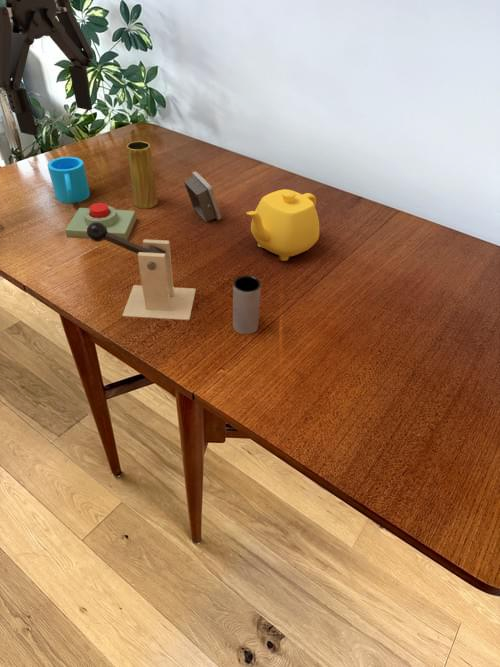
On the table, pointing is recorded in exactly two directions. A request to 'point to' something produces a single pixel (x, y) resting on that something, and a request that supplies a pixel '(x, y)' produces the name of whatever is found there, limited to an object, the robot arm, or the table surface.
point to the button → (99, 210)
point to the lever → (116, 239)
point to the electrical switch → (202, 197)
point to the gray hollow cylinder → (246, 304)
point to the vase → (142, 175)
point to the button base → (114, 223)
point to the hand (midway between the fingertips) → (58, 120)
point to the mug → (69, 179)
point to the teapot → (285, 223)
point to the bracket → (158, 288)
